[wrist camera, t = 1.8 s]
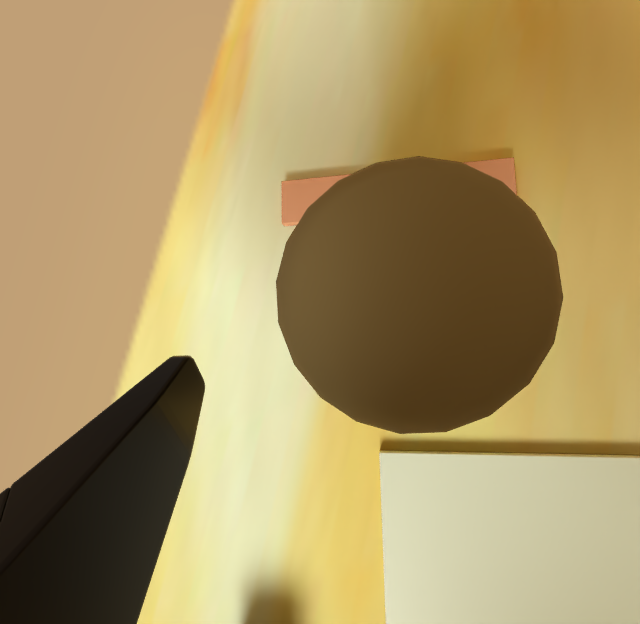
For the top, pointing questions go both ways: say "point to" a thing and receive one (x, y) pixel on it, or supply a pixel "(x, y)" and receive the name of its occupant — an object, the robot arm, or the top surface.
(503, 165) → the off strip
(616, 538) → the pad
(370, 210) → the cork
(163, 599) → the top surface
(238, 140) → the top surface
